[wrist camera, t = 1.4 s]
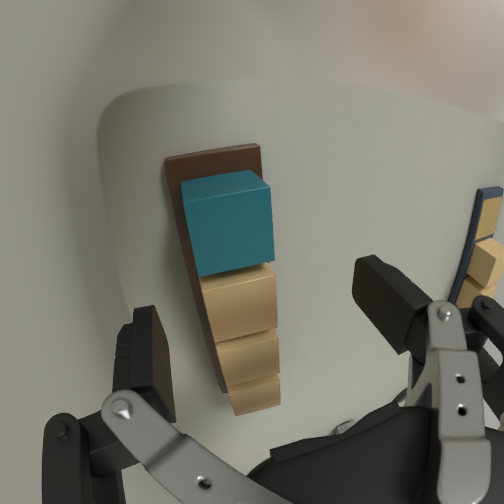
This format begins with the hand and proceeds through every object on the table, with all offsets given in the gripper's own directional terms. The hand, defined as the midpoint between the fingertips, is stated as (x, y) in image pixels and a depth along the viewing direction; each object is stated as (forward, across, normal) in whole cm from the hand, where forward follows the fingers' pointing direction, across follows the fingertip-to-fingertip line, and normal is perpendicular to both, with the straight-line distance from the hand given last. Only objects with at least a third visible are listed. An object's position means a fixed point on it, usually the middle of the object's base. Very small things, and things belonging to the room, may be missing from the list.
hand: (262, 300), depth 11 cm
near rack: (+11, 0, +8) cm, 13 cm away
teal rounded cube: (+10, 0, 0) cm, 10 cm away
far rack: (+11, -33, +14) cm, 37 cm away
